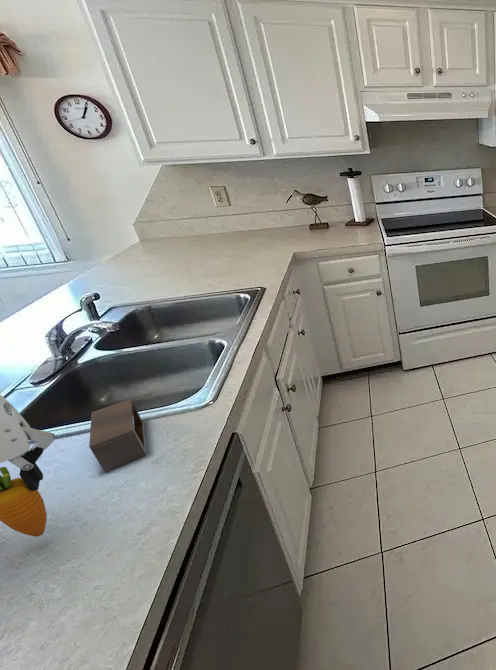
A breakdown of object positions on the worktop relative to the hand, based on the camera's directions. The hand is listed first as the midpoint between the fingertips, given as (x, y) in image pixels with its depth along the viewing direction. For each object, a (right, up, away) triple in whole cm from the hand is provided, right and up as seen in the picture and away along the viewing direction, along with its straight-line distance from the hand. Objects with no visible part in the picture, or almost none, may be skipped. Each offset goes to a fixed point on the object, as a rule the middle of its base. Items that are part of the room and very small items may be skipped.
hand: (10, 493), depth 64 cm
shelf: (-4, -2, +24) cm, 25 cm away
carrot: (0, -9, +4) cm, 10 cm away
